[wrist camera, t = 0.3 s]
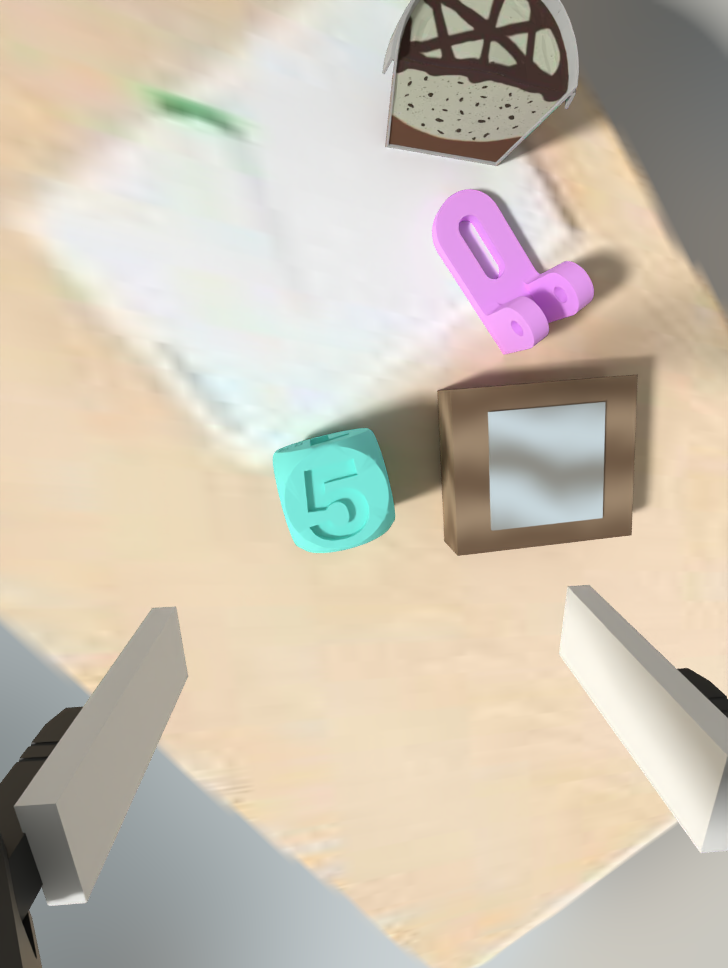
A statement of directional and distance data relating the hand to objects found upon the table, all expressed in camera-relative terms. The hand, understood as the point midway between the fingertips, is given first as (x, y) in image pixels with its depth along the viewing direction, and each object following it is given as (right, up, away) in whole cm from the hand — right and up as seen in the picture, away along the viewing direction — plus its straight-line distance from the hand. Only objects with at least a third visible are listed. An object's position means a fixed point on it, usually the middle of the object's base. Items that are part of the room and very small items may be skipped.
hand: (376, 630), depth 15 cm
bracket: (+10, +23, +24) cm, 35 cm away
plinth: (+15, +7, +27) cm, 31 cm away
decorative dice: (-3, +5, +25) cm, 26 cm away
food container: (+6, +35, +21) cm, 41 cm away
